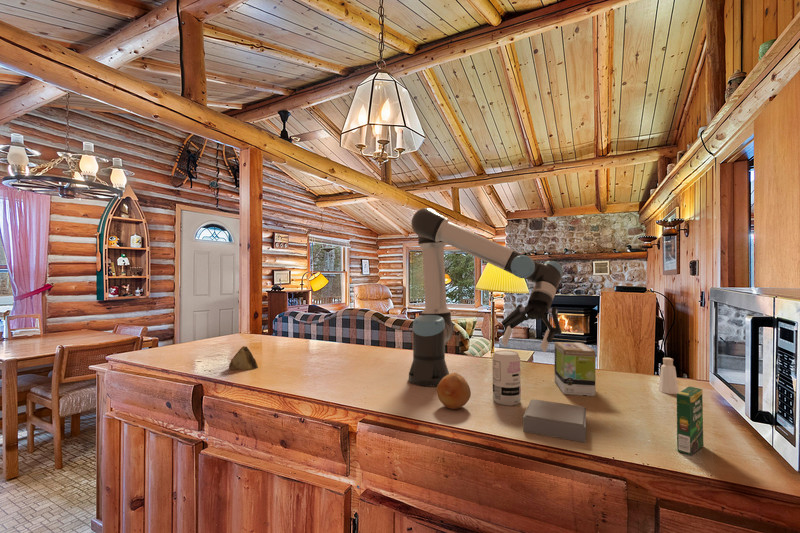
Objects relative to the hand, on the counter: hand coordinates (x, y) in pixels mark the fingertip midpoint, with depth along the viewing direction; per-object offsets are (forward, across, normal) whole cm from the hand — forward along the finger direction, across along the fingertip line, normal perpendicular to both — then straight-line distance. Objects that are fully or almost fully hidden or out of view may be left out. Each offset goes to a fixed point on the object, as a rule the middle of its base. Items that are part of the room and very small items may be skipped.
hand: (522, 346), depth 121 cm
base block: (+23, -18, +1) cm, 29 cm away
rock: (+46, +100, +24) cm, 113 cm away
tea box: (-1, -10, -24) cm, 26 cm away
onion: (+29, +10, +6) cm, 31 cm away
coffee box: (+18, -44, -5) cm, 48 cm away
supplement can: (+18, +1, -4) cm, 18 cm away
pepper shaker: (-14, -33, -37) cm, 51 cm away
